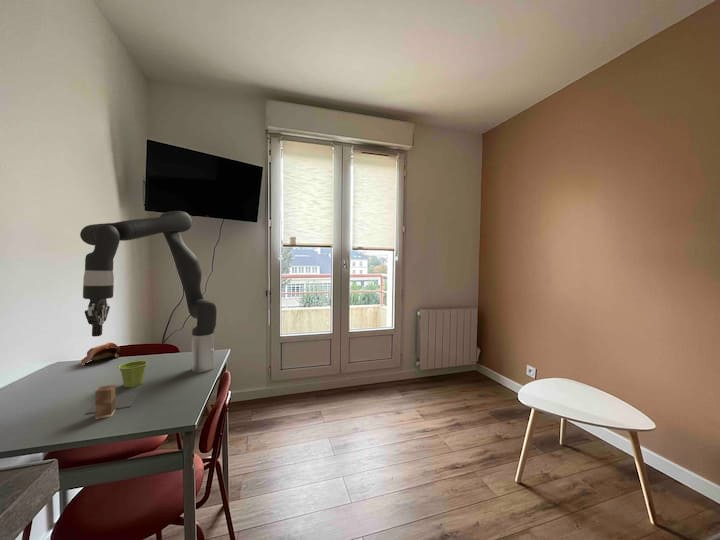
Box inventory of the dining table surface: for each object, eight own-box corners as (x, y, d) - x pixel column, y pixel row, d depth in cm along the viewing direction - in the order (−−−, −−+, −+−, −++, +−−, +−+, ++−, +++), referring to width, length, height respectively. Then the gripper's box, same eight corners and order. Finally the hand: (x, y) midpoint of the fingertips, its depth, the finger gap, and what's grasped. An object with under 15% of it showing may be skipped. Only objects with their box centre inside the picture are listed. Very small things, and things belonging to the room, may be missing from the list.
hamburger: (116, 356, 154) (116, 337, 154) (126, 360, 147) (126, 341, 147) (76, 365, 140) (76, 344, 140) (85, 370, 134) (85, 349, 134)
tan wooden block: (115, 410, 98) (115, 384, 98) (111, 416, 94) (111, 389, 94) (100, 413, 96) (100, 386, 96) (95, 419, 92) (95, 391, 92)
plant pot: (116, 384, 118) (116, 364, 118) (144, 378, 125) (145, 358, 125) (120, 392, 112) (120, 370, 112) (149, 384, 119) (149, 364, 119)
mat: (139, 392, 111) (139, 391, 111) (130, 406, 101) (130, 405, 101) (99, 398, 106) (99, 397, 106) (85, 414, 95) (85, 413, 95)
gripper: (105, 285, 91) (103, 339, 91) (119, 283, 103) (118, 331, 103) (74, 285, 88) (72, 341, 88) (93, 283, 100) (91, 332, 100)
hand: (97, 335), depth 95 cm, fingers closed
